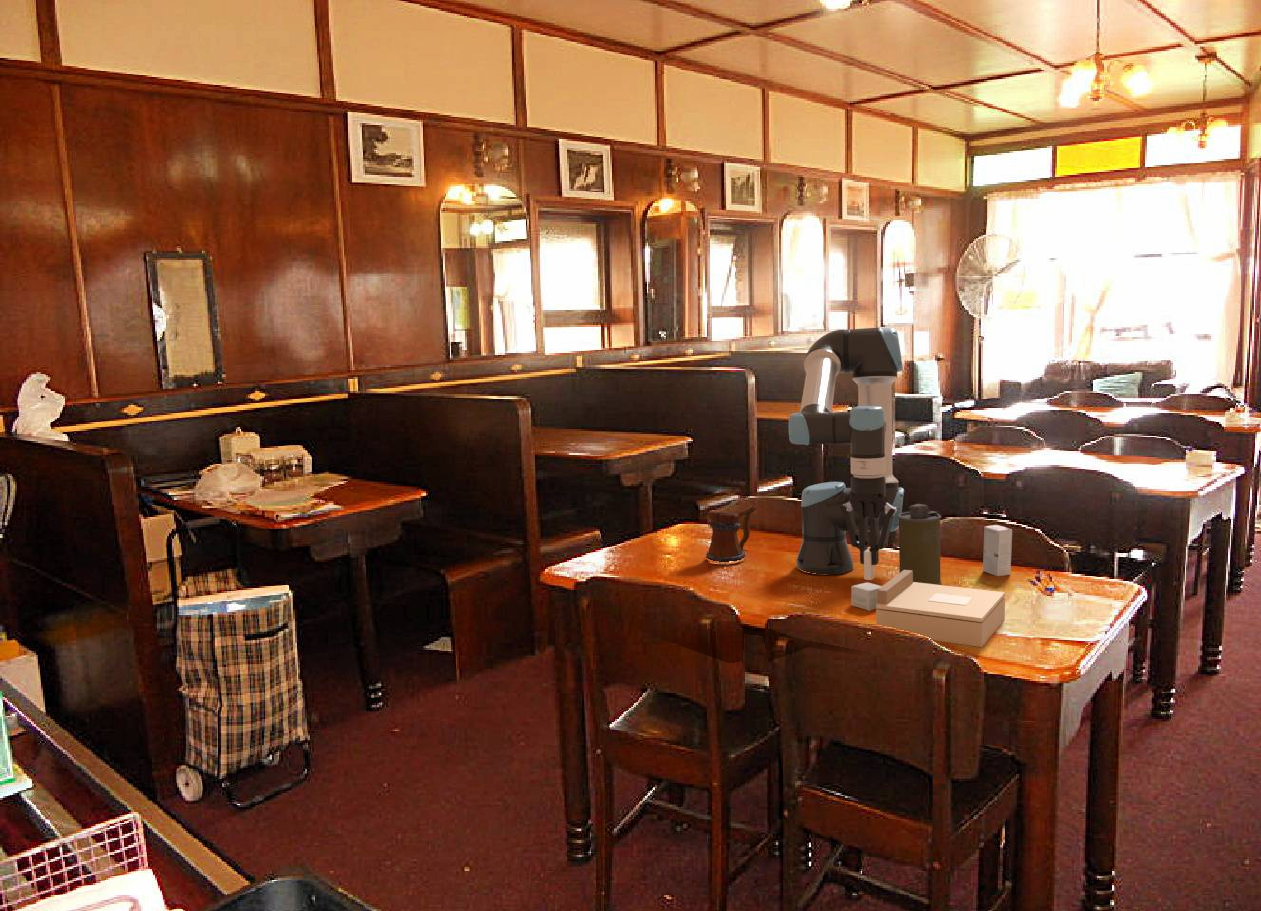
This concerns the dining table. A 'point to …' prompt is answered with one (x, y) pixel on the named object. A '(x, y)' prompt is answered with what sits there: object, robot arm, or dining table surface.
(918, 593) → the lid
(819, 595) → the dining table surface
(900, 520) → the canister
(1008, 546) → the skincare box
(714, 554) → the mug
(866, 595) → the small box
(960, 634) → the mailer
